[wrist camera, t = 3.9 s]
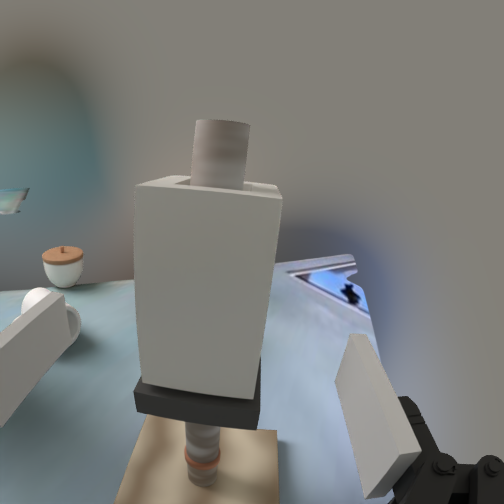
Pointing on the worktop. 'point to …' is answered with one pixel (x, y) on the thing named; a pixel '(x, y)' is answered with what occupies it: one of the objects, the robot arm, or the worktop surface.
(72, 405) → the worktop surface
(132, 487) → the pipe stand
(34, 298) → the mug
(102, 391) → the worktop surface
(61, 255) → the lidded jar
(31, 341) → the robot arm
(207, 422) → the thin dark grey plate
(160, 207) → the sleeve
